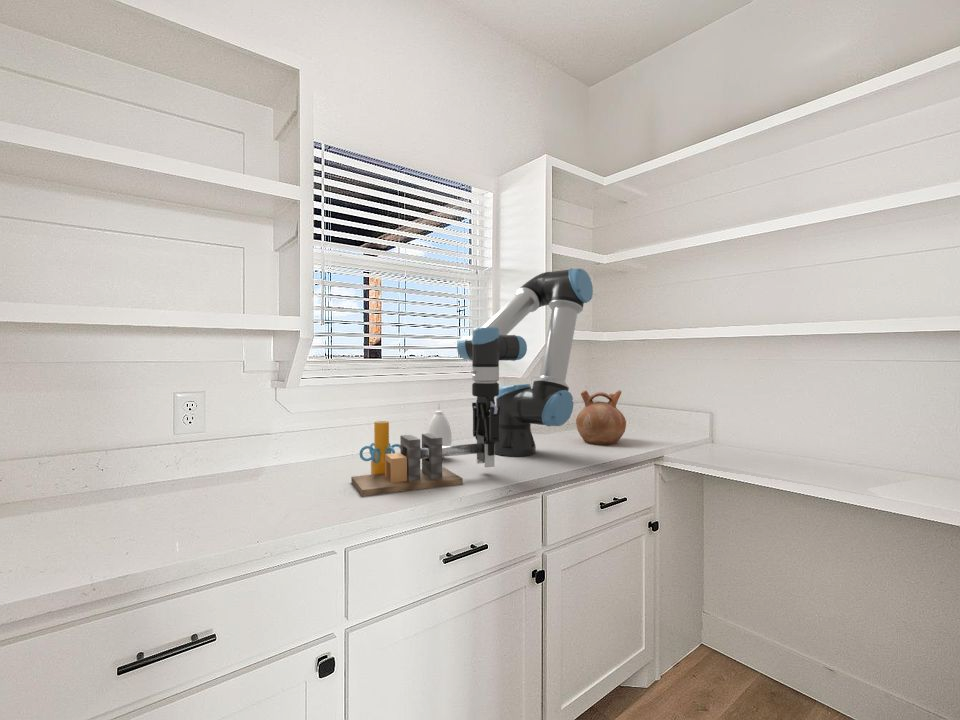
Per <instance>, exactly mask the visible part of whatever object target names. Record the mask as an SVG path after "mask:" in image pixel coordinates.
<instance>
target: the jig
mask: <svg viewBox="0 0 960 720" xmlns="http://www.w3.org/2000/svg"><path fill="white" fill-rule="evenodd" d="M399 439H400V443H399V444H400V448H399V449H400V452H399V453H401V454H403V455H404V456H406V457H407V481H401V482H391V477H387V478H386V477H385V473H383V474H373V475H371V474H364V475H353V476H351V478H350V479H351V484H352V485H353V486H354V488H355V489H356V490H357V491H358V492H359V494H360V496H361V497H367V496H375V495H377V496H378V495H383V493H385V494H393V493H399V492H398V491H401V492H407V491H408V490H410V491H417V490H416V489H418V490H425V488H426V489H433V487H435V488H441V486H443V487H449V486H458V485H463V480H464V478H463V477H461V476H459V475H458V474H456V473H454V472H453V471H451V470H449V469H448V468H446V467H444V466H443V458H442V437H440V436H437V435H435V434H433V433H428V434H427V433H421V439H420V438H418V437H416V436H414V435H412V434H405V435H402V434H401V435H400V438H399ZM420 448H429V458H425V459H420ZM392 492H393V493H392Z"/></svg>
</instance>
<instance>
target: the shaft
mask: <svg viewBox="0 0 960 720" xmlns="http://www.w3.org/2000/svg"><path fill="white" fill-rule="evenodd" d="M484 442H486V435H485V434H477V440H476V443H465V444H454V445H453V444H451V446H442V457H443V458H445V457H454V456H465V455H475V454H476V460H477V459H478V460H480V461H482V462H485V444H484ZM425 458H429V448H422V447H420V460H422V459H425Z"/></svg>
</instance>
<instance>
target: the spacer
mask: <svg viewBox="0 0 960 720" xmlns="http://www.w3.org/2000/svg"><path fill="white" fill-rule="evenodd" d="M391 453H392V452H391ZM385 477H386V478H387V477H391V482H401V481H407V457H406V456H404V455H403V454H401V453H400V452H395V453H392V454H385Z"/></svg>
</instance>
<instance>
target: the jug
mask: <svg viewBox="0 0 960 720" xmlns="http://www.w3.org/2000/svg"><path fill="white" fill-rule="evenodd" d="M580 396H581V398H582V400H583V402H584V407H583V409H581V411H580V412H579V413H578V415H577V417H576V420H575V422H576V423H575V424H576V430H577V432H578V434H579V436H580V437H581V438H582V440H583V441H584V443H586V444H589V445H595V446H611V445H617V443H618V442H619V441H620V440H621V438H622V437H623V435H624V434H625V432H626V428H627V421H626V417H625V416H624V414H623V412H621V410H619V409H618V408H617V404H618V401H619V399H620V397H621V396H622V390H617V391H615V392H614V393H609V394H608V393H607V392H603V391H598V392H595V393H593V394H591V395H590V394H589V392H588V391H587V390H584V391H581V393H580ZM596 397H602V398H603V397H604V398H606V399H608V402H605V401H593V400H594V398H596Z"/></svg>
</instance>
